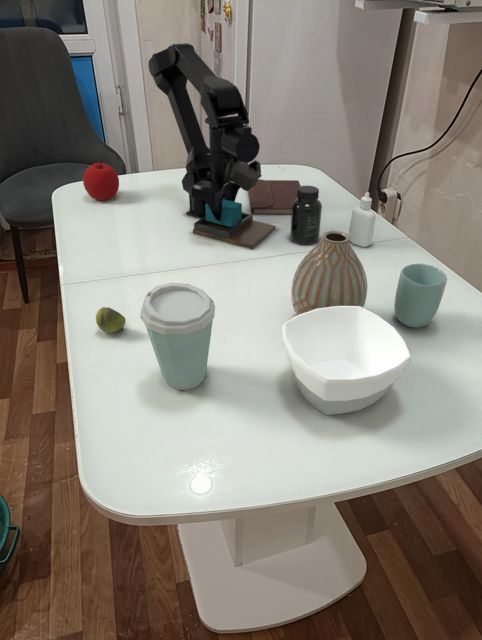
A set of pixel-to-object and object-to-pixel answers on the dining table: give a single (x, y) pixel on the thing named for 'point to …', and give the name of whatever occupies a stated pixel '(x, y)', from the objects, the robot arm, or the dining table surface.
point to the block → (226, 213)
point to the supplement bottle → (306, 216)
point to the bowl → (343, 357)
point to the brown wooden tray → (235, 231)
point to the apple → (101, 181)
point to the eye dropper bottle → (362, 223)
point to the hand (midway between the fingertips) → (223, 216)
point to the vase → (329, 276)
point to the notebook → (273, 196)
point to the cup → (419, 294)
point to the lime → (109, 320)
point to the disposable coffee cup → (179, 331)
